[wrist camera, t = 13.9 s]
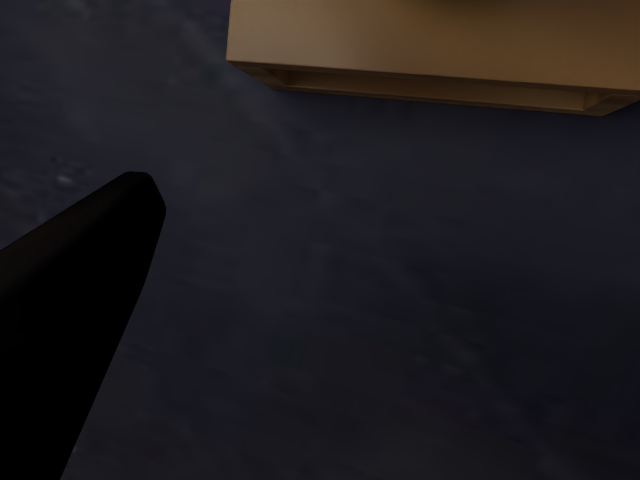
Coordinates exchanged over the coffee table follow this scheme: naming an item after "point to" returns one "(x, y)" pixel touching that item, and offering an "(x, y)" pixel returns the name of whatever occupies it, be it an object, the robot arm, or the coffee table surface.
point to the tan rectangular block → (446, 50)
